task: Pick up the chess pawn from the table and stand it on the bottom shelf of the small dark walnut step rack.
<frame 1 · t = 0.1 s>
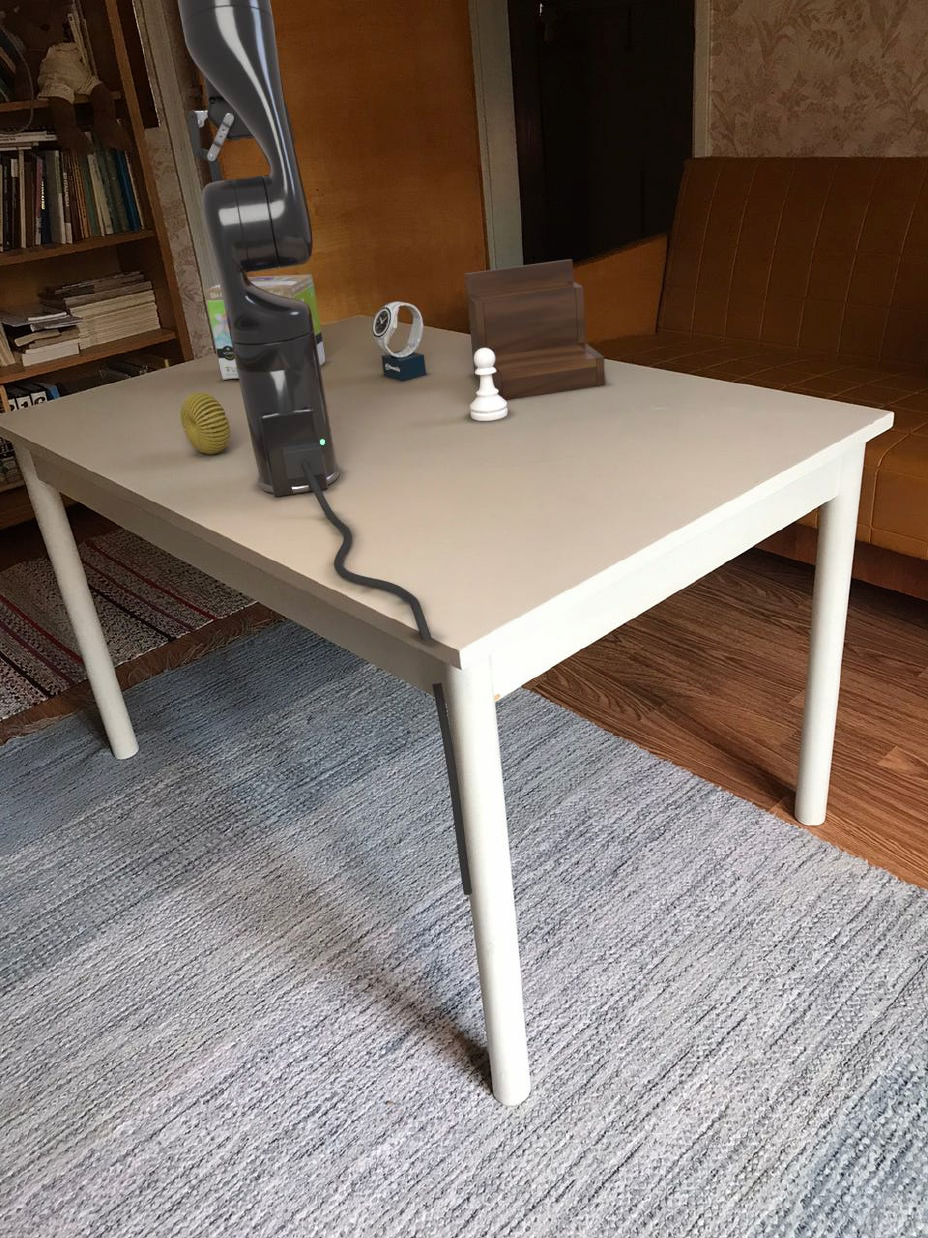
hand: (251, 185, 145), 29 cm above the table, tool pointing down, fingers open, 8 cm apart
tea box: (275, 373, 168), on the table
watch: (404, 376, 158), on the table
shelf: (537, 379, 148), on the table
chess pawn: (489, 417, 135), on the table
sculpture: (212, 454, 132), on the table
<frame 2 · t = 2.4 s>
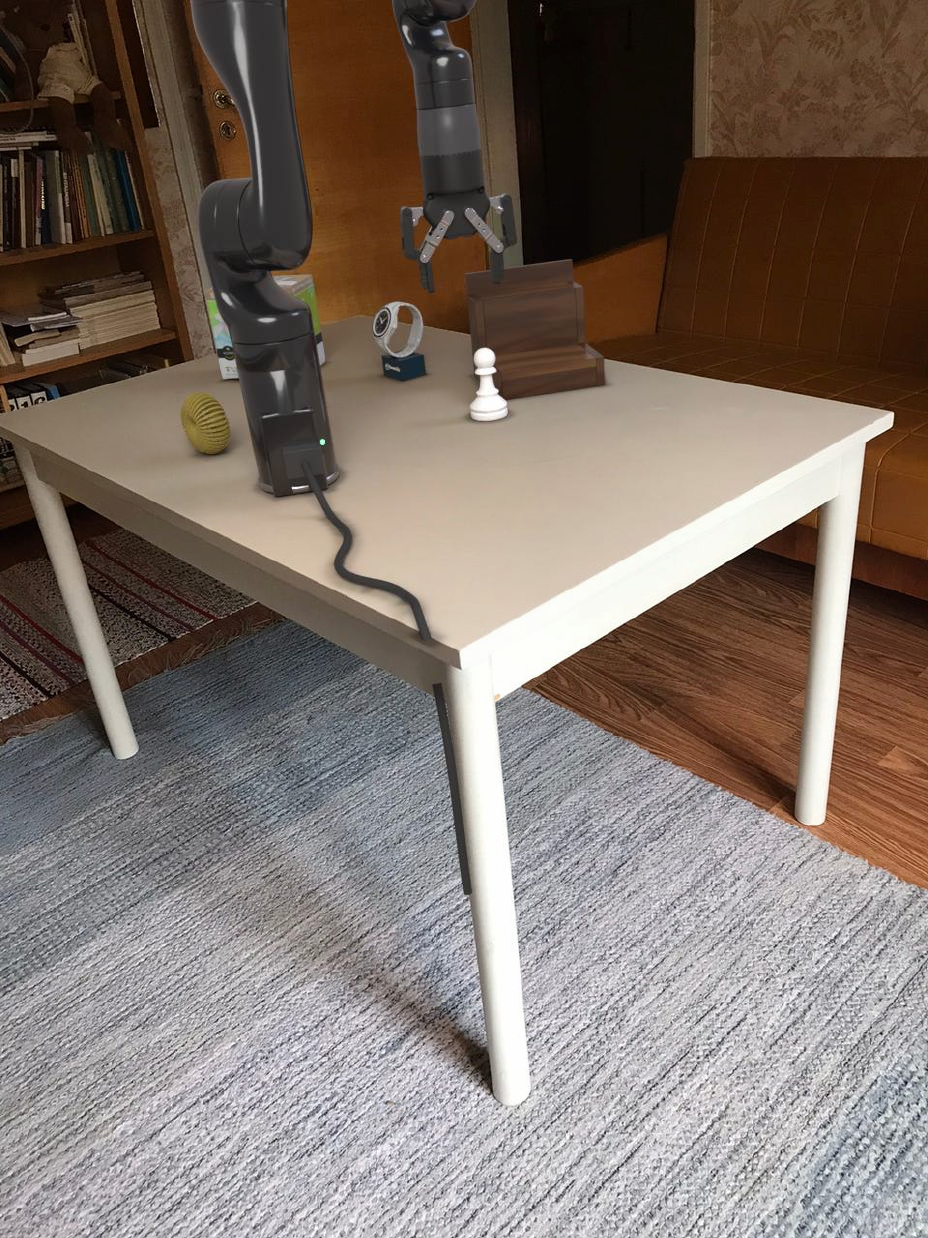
hand: (463, 287, 129), 17 cm above the table, tool pointing down, fingers open, 8 cm apart
nothing on the table moved.
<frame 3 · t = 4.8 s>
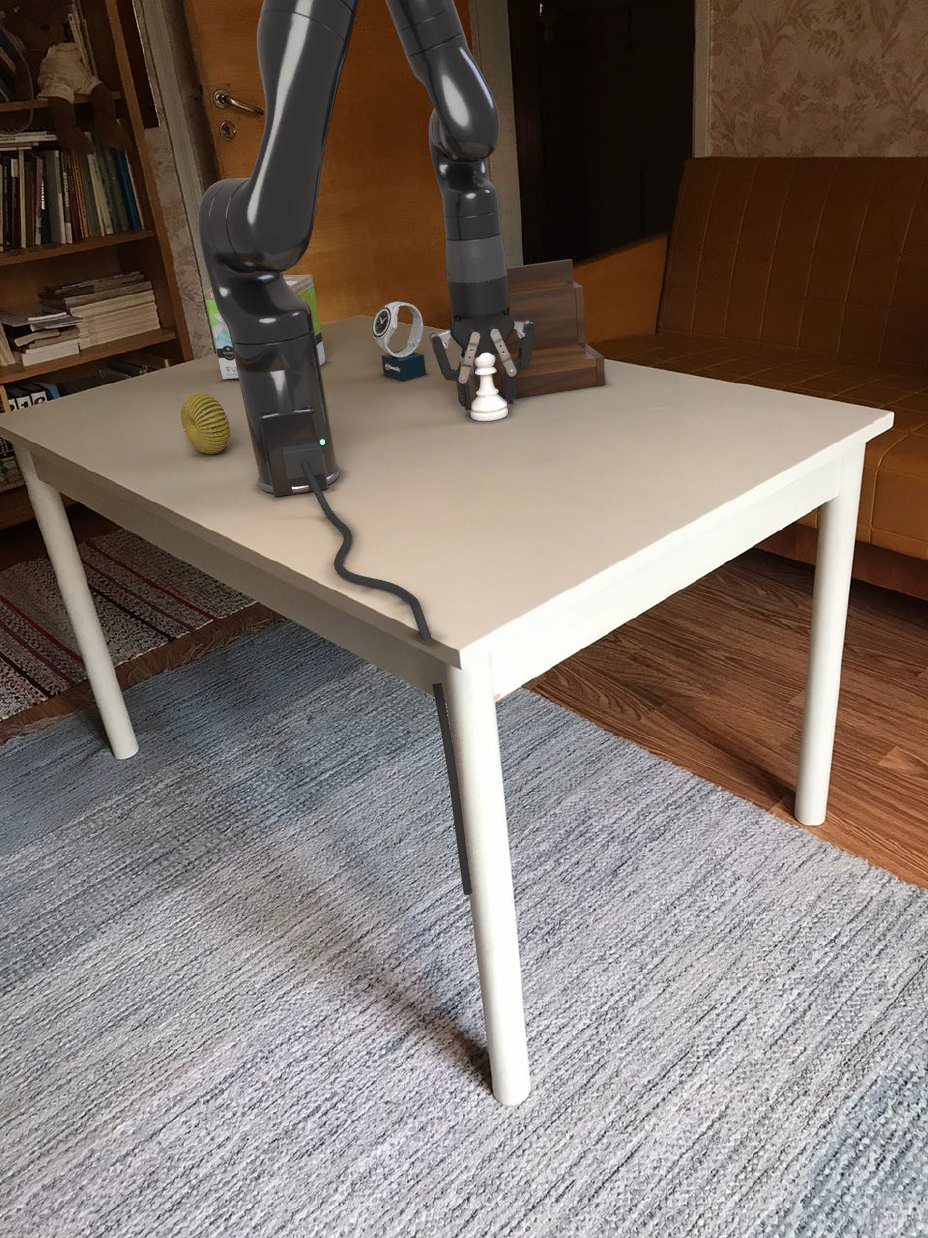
hand: (488, 405, 134), 1 cm above the table, tool pointing down, fingers closed on chess pawn, 5 cm apart
chess pawn: (489, 417, 135), on the table, touching gripper
everything else where it was.
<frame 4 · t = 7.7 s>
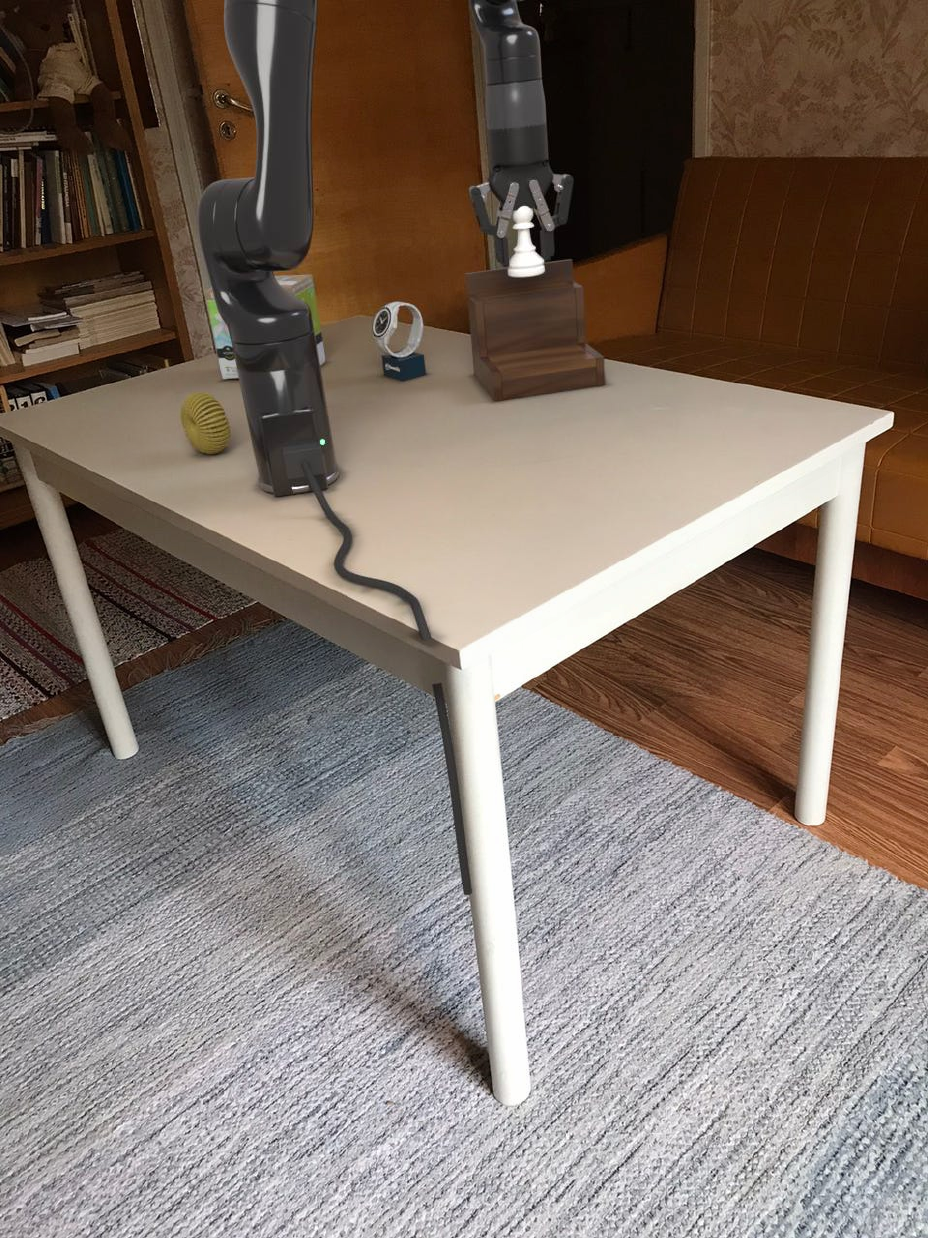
hand: (525, 262, 135), 17 cm above the table, tool pointing down, fingers closed on chess pawn, 5 cm apart
chess pawn: (526, 275, 136), point 16 cm above the table, touching gripper
everything else where it was.
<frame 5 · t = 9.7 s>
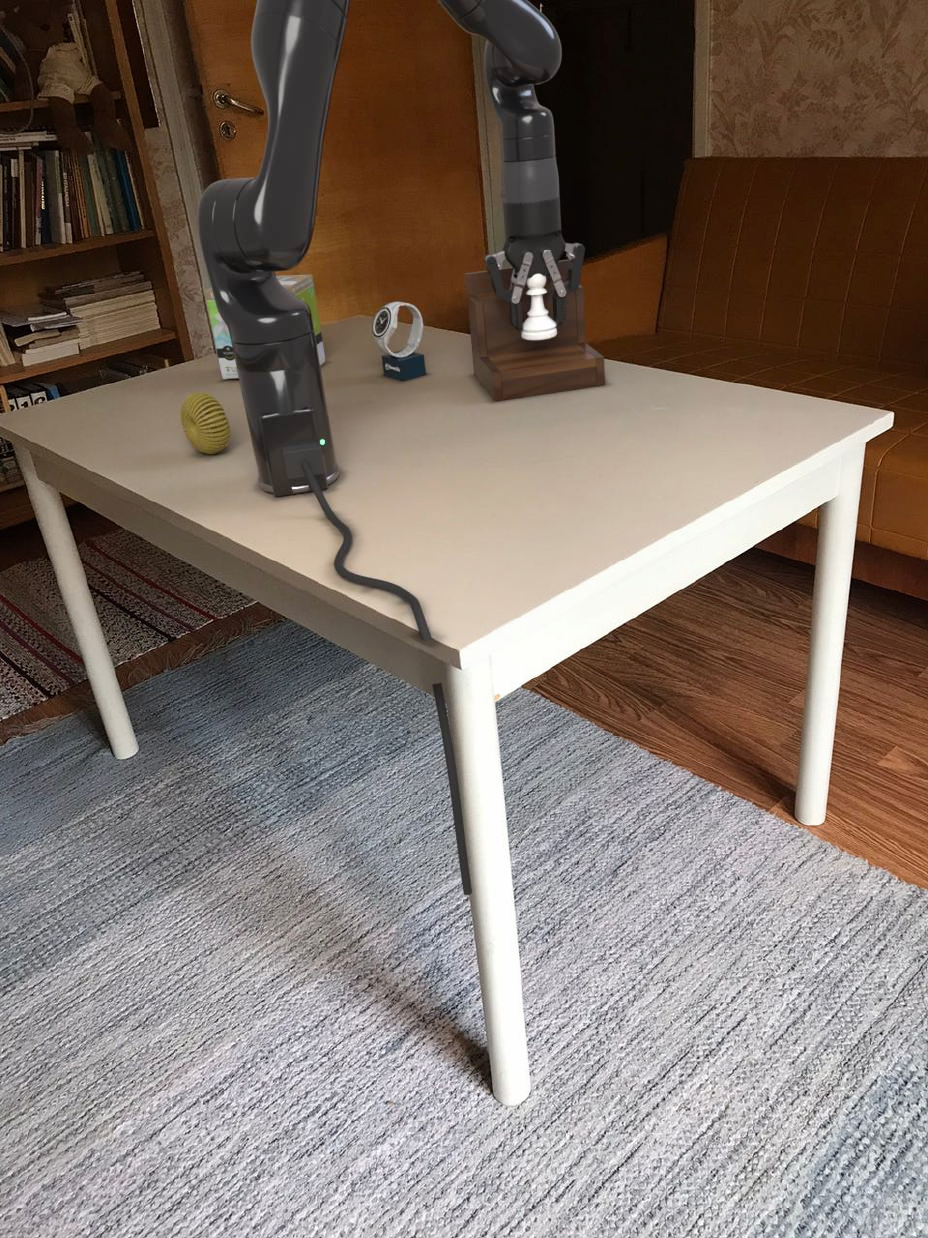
hand: (538, 325, 141), 9 cm above the table, tool pointing down, fingers closed on chess pawn, 5 cm apart
chess pawn: (539, 337, 141), point 7 cm above the table, touching gripper
everything else where it was.
when the fingers open (5 cm above the table, at t = 11.0 s): chess pawn stays where it is, resting on shelf.
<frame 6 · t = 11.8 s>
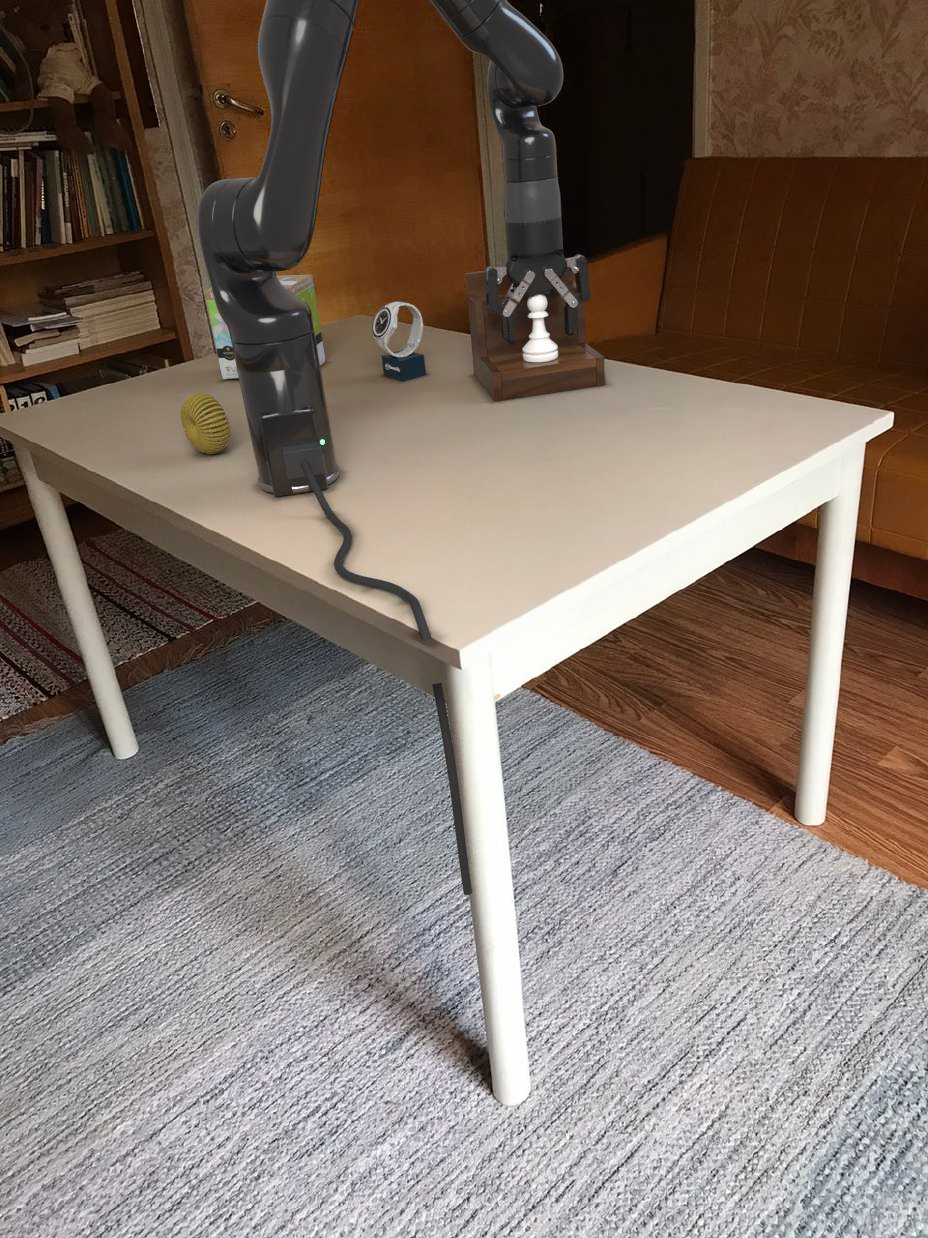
hand: (540, 338, 141), 7 cm above the table, tool pointing down, fingers open, 8 cm apart
chess pawn: (540, 359, 143), point 4 cm above the table, touching shelf
everything else where it was.
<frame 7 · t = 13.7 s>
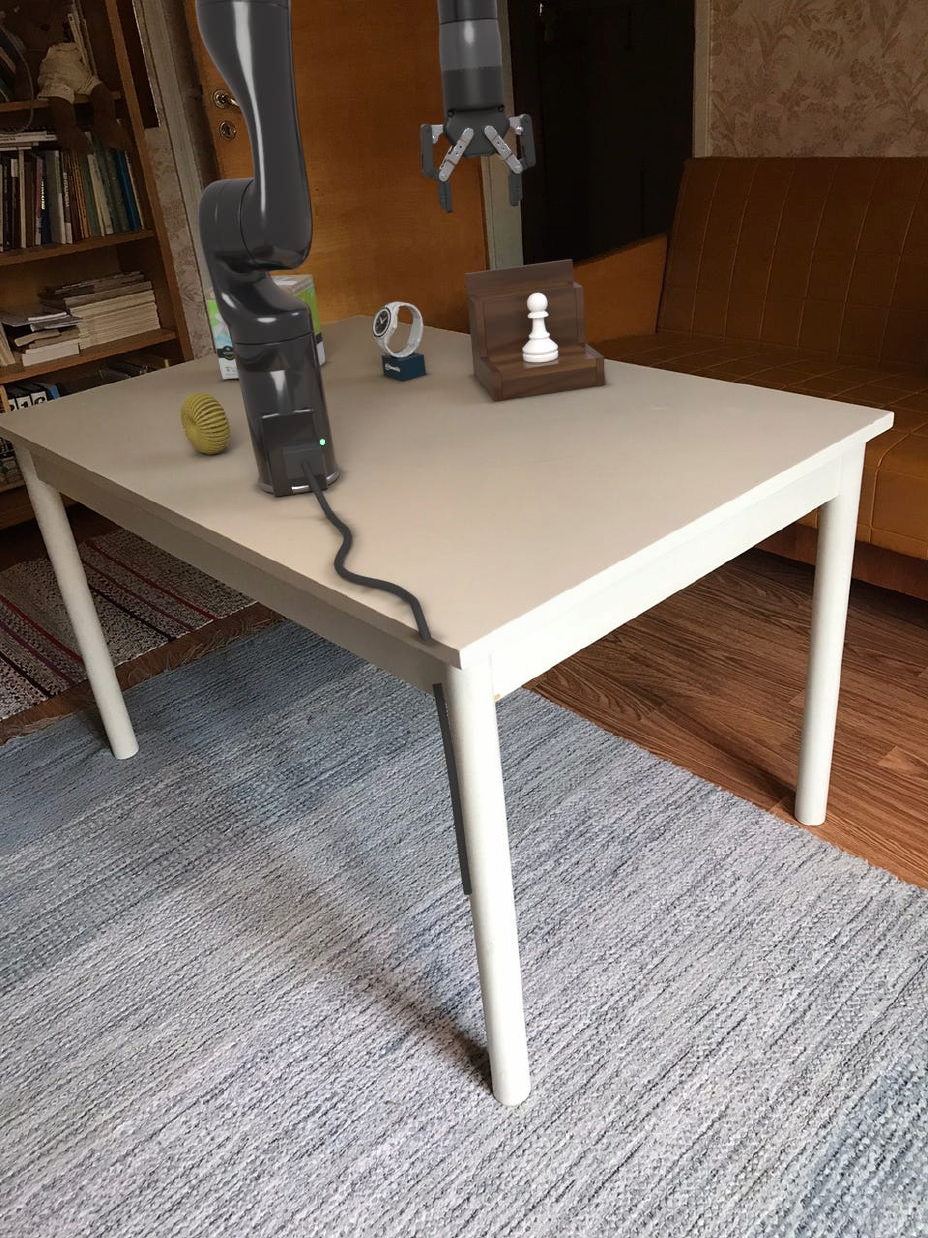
hand: (481, 209, 129), 25 cm above the table, tool pointing down, fingers open, 8 cm apart
nothing on the table moved.
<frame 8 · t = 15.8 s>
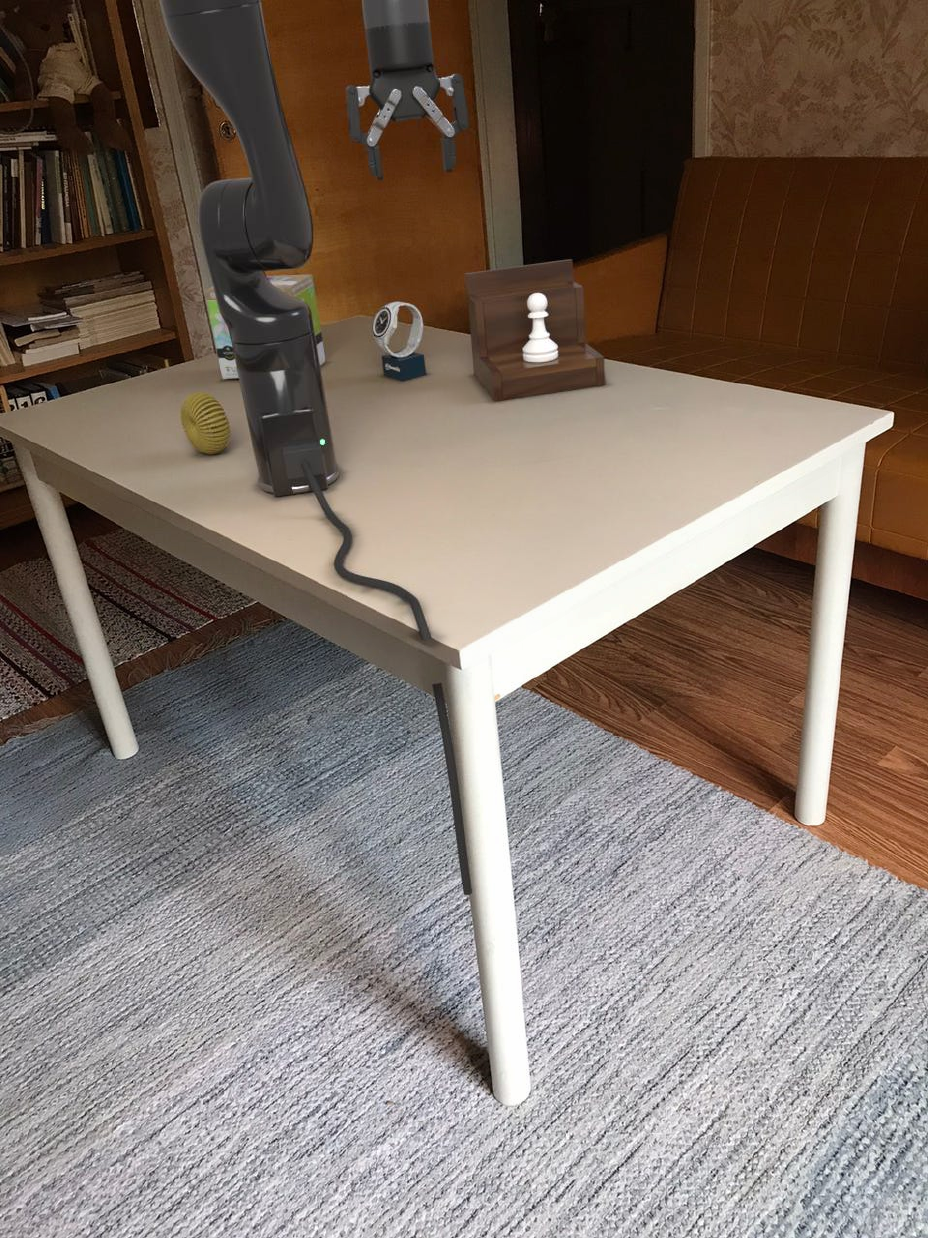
hand: (414, 175, 123), 30 cm above the table, tool pointing down, fingers open, 8 cm apart
nothing on the table moved.
at the end: chess pawn inside the target area on the shelf (0.4 cm from its centre), point 3.8 cm above the shelf's base; chess pawn tilted 0°; the gripper is holding nothing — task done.
